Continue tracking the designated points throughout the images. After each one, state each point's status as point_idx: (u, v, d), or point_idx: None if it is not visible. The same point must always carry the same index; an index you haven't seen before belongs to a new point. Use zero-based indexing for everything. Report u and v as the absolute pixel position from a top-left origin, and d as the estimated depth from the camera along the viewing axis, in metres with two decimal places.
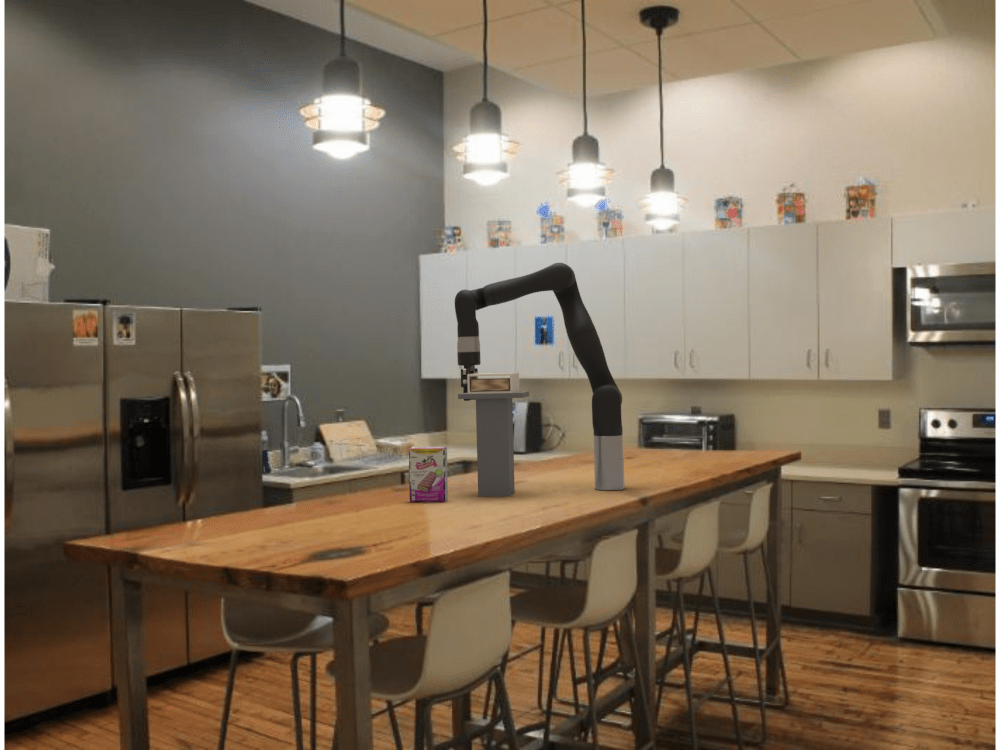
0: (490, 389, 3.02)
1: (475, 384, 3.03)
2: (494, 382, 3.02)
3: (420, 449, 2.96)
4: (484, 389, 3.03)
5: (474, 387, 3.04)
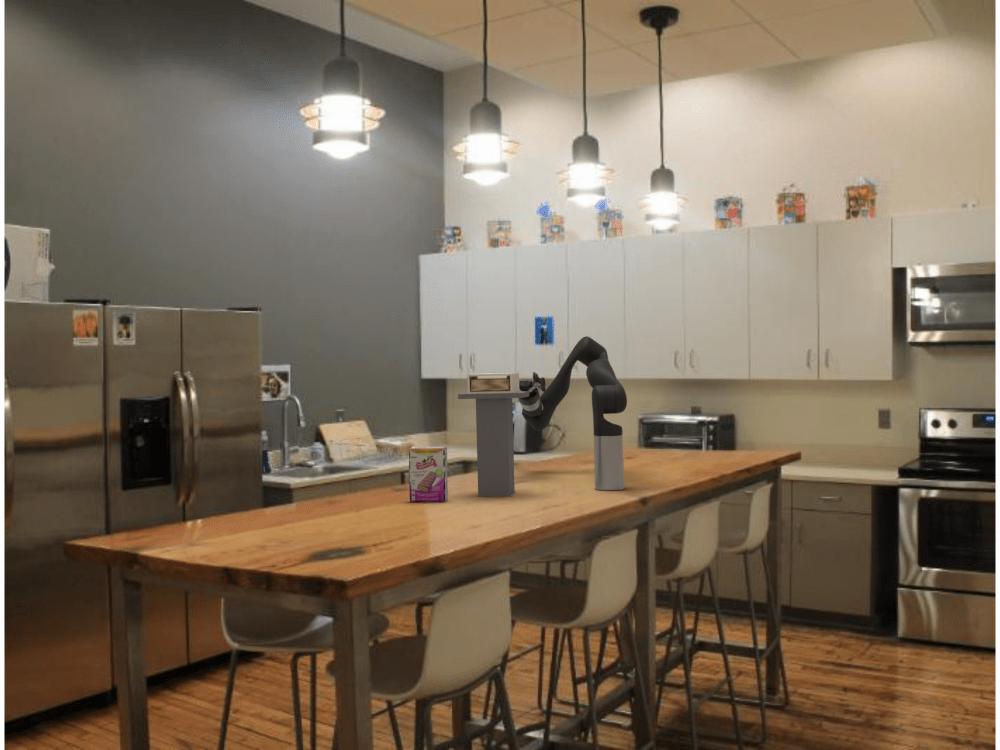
0: (490, 389, 3.02)
1: (475, 384, 3.03)
2: (494, 382, 3.02)
3: (420, 449, 2.96)
4: (484, 389, 3.03)
5: (474, 387, 3.04)
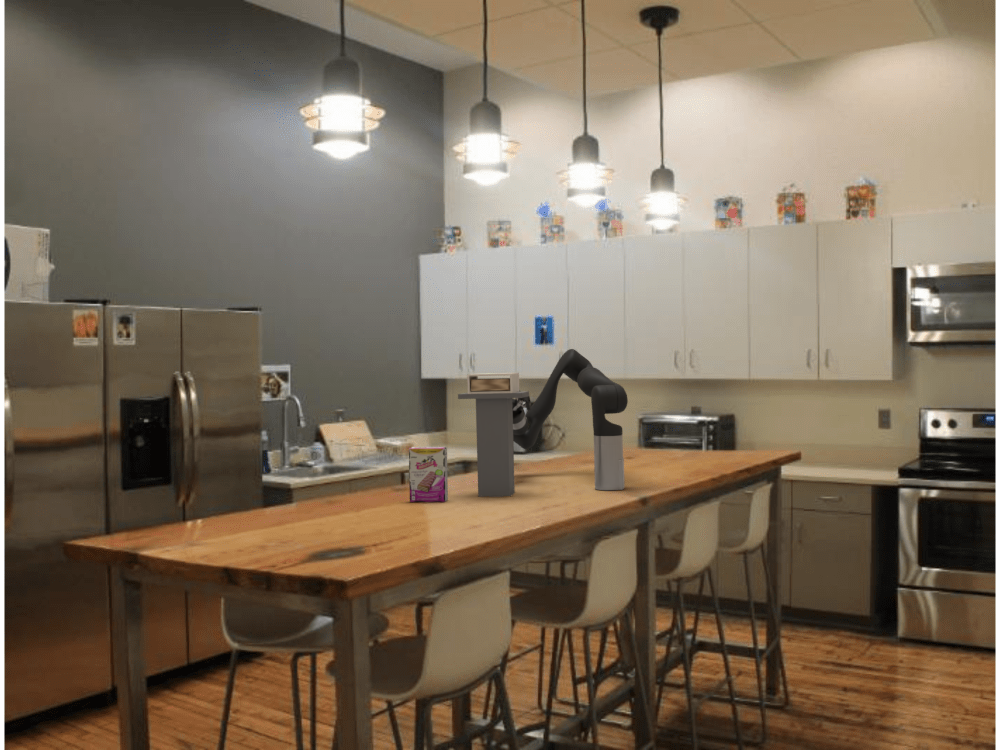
0: (490, 389, 3.02)
1: (475, 384, 3.03)
2: (494, 382, 3.02)
3: (420, 449, 2.96)
4: (484, 389, 3.03)
5: (474, 387, 3.04)
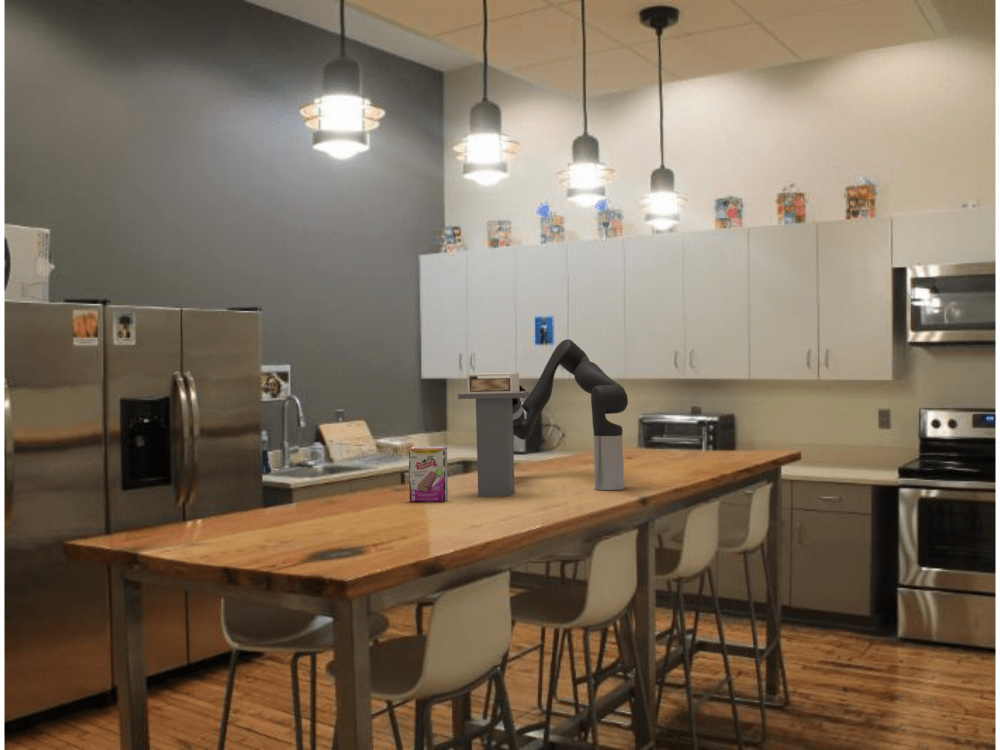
0: (490, 389, 3.02)
1: (475, 384, 3.03)
2: (494, 382, 3.02)
3: (420, 449, 2.96)
4: (484, 389, 3.03)
5: (474, 387, 3.04)
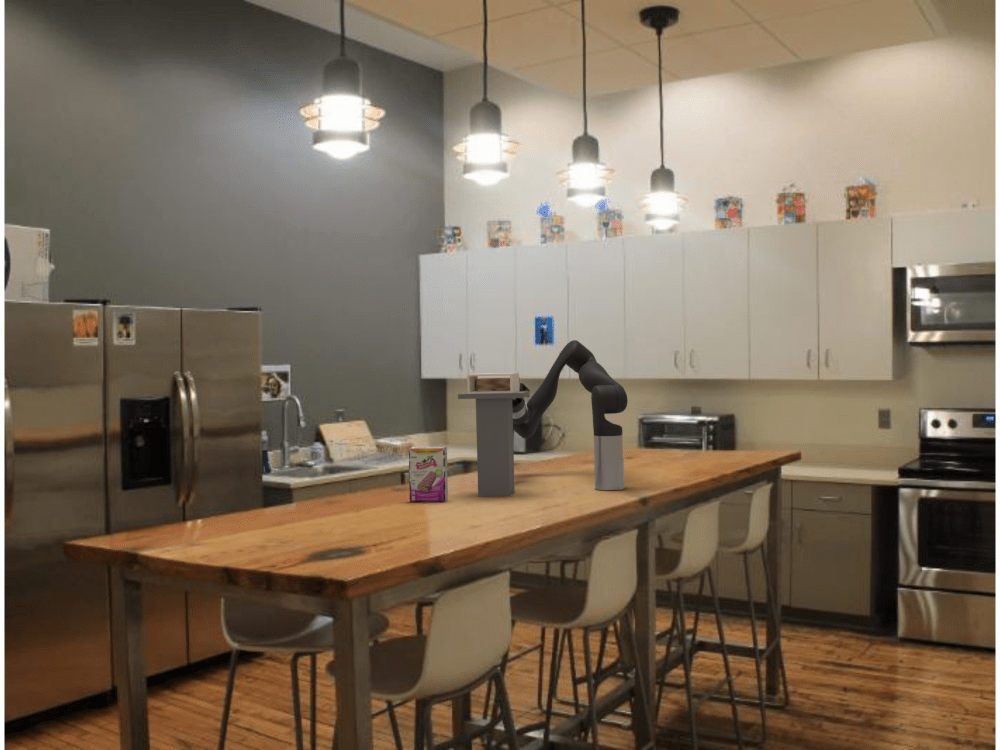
0: (495, 388, 3.09)
1: (480, 383, 3.10)
2: (499, 381, 3.09)
3: (420, 449, 2.96)
4: (489, 388, 3.10)
5: (479, 387, 3.10)
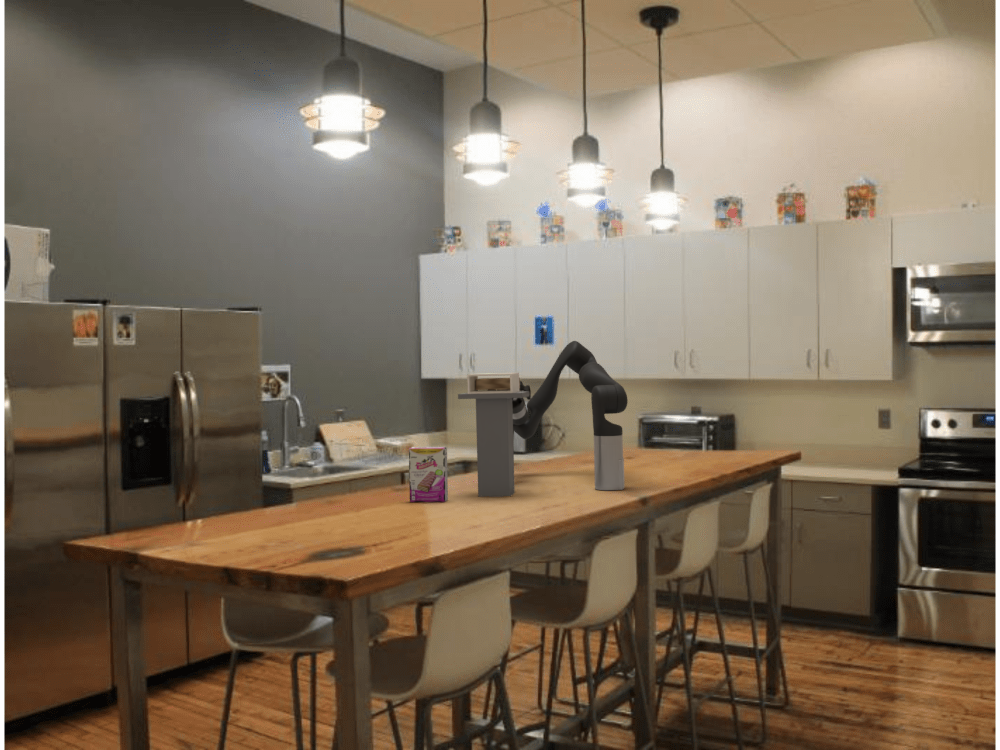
0: (495, 388, 3.09)
1: (480, 383, 3.10)
2: (499, 381, 3.09)
3: (420, 449, 2.96)
4: (489, 388, 3.10)
5: (479, 387, 3.10)
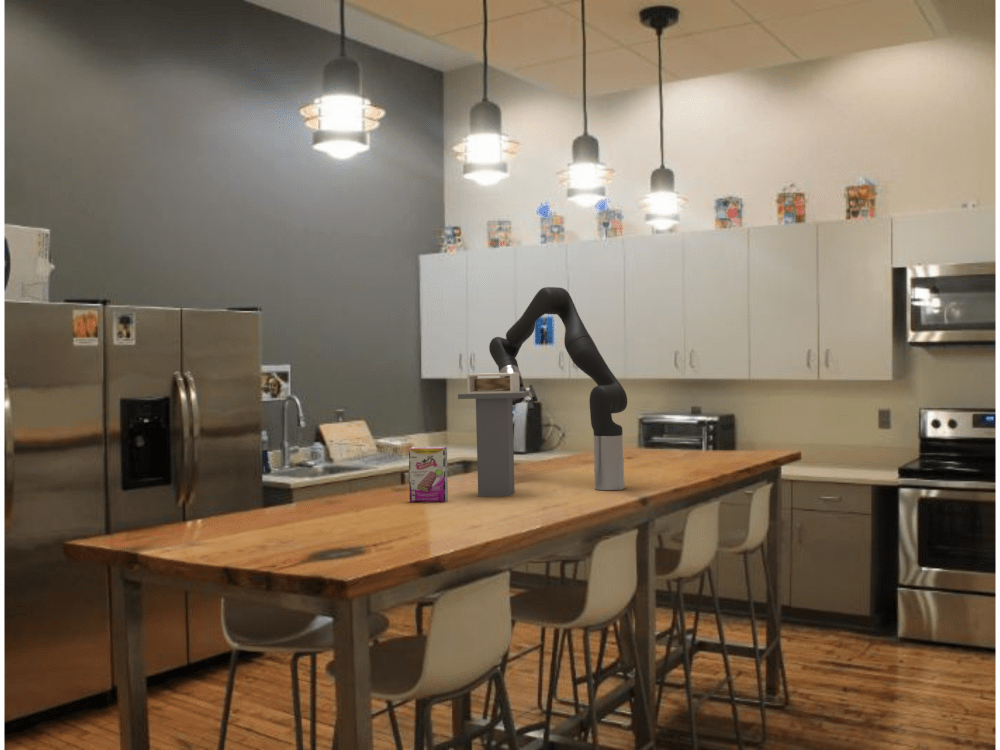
0: (495, 388, 3.09)
1: (480, 383, 3.10)
2: (499, 381, 3.09)
3: (420, 449, 2.96)
4: (489, 388, 3.10)
5: (479, 387, 3.10)
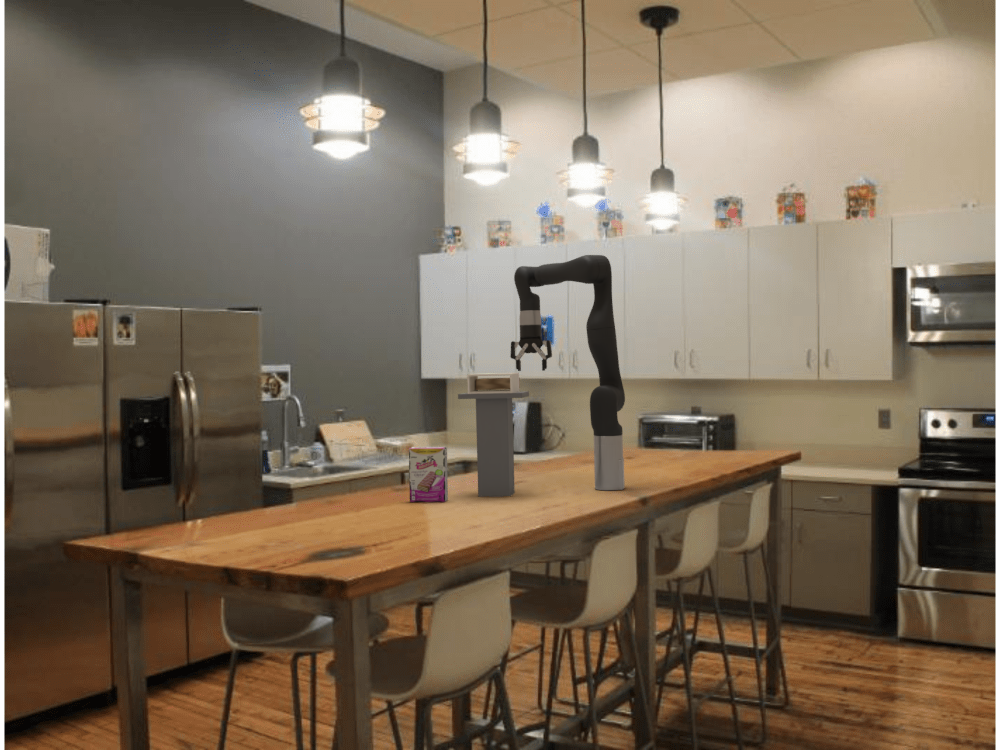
0: (495, 388, 3.09)
1: (480, 383, 3.10)
2: (499, 381, 3.09)
3: (420, 449, 2.96)
4: (489, 388, 3.10)
5: (479, 387, 3.10)
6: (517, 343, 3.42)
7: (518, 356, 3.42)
